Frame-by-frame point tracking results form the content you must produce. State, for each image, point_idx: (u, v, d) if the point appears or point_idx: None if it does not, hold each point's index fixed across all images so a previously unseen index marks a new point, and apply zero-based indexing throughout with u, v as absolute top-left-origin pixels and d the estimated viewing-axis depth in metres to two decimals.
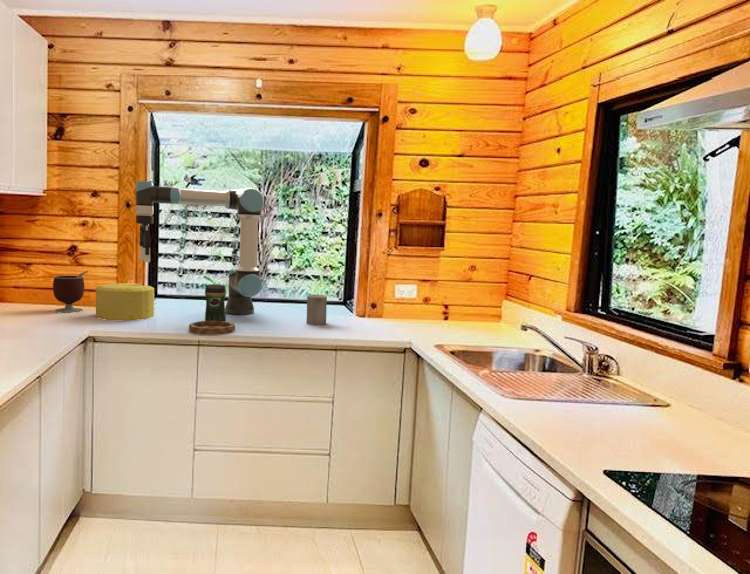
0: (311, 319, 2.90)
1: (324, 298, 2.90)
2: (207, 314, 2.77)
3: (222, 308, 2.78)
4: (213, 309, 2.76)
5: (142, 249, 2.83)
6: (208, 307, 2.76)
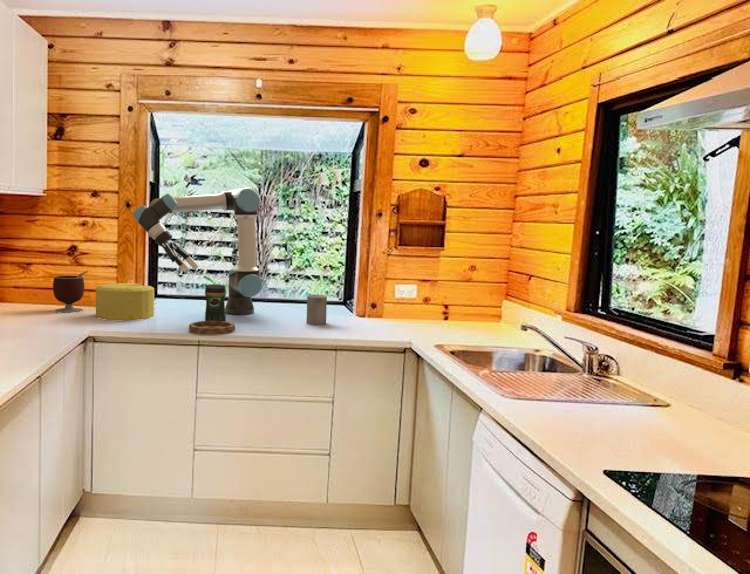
0: (311, 319, 2.90)
1: (324, 298, 2.90)
2: (207, 314, 2.77)
3: (222, 308, 2.78)
4: (213, 309, 2.76)
5: (188, 260, 2.84)
6: (208, 307, 2.76)
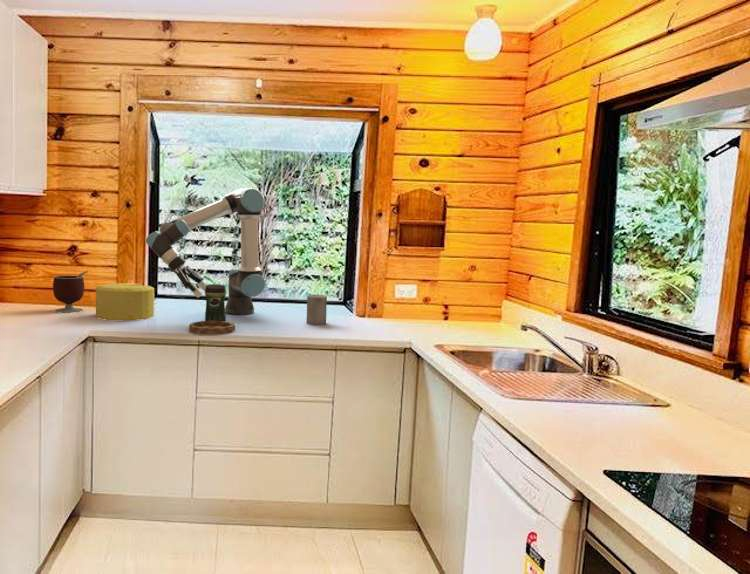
0: (311, 319, 2.90)
1: (324, 298, 2.90)
2: (207, 314, 2.77)
3: (222, 308, 2.78)
4: (213, 309, 2.76)
5: (201, 285, 2.85)
6: (208, 307, 2.76)
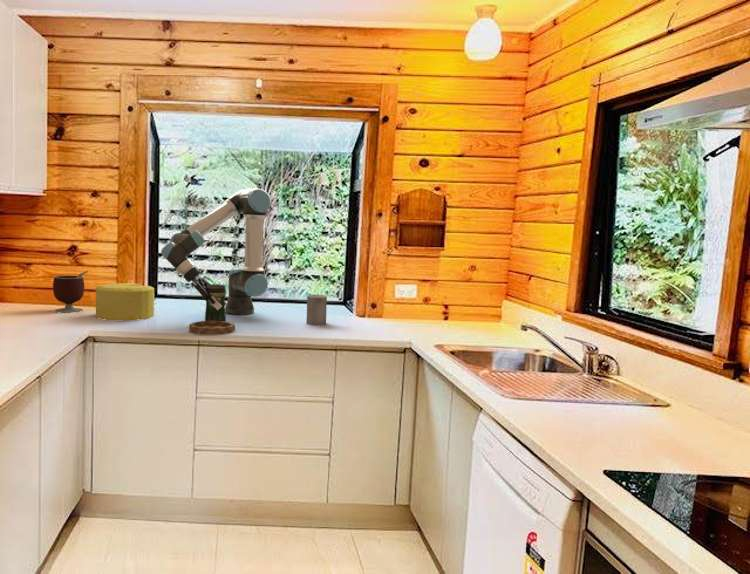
0: (311, 319, 2.90)
1: (324, 298, 2.90)
2: (207, 314, 2.77)
3: (222, 308, 2.78)
4: (213, 309, 2.76)
5: None
6: (208, 307, 2.76)
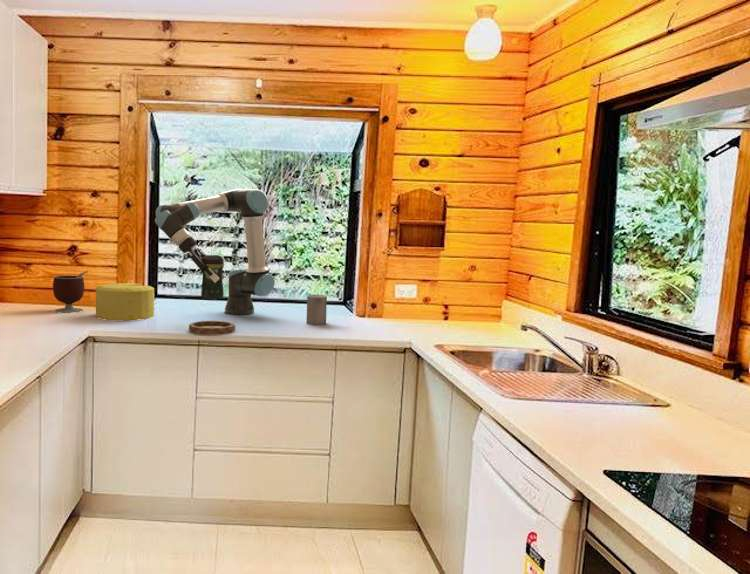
0: (311, 319, 2.90)
1: (324, 298, 2.90)
2: (203, 287, 2.59)
3: (220, 281, 2.60)
4: (210, 282, 2.59)
5: None
6: (205, 279, 2.59)
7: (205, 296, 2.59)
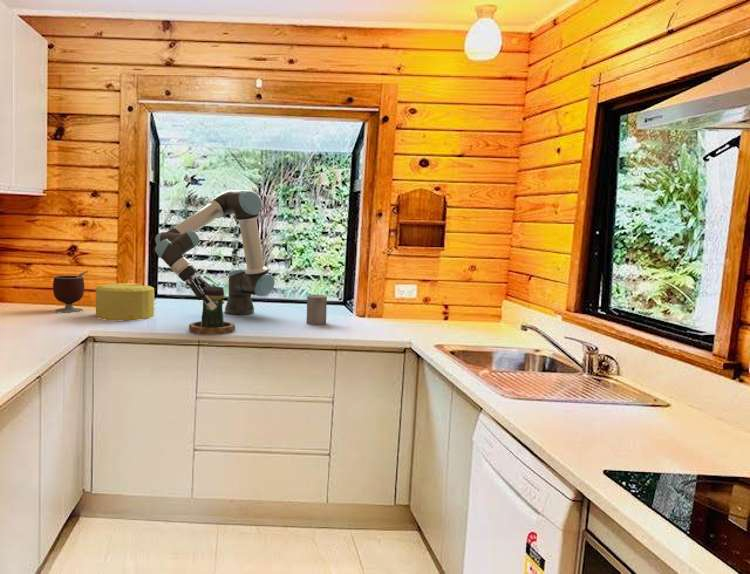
0: (311, 319, 2.90)
1: (324, 298, 2.90)
2: (204, 318, 2.61)
3: (220, 312, 2.62)
4: (210, 313, 2.60)
5: None
6: (205, 310, 2.60)
7: (205, 327, 2.61)
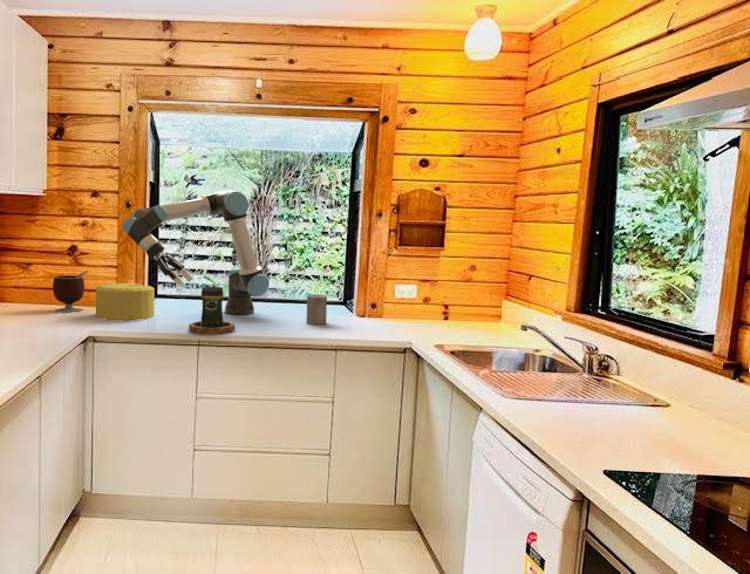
0: (311, 319, 2.90)
1: (324, 298, 2.90)
2: (203, 318, 2.61)
3: (219, 312, 2.62)
4: (209, 313, 2.60)
5: (182, 272, 2.71)
6: (204, 311, 2.60)
7: (205, 327, 2.61)
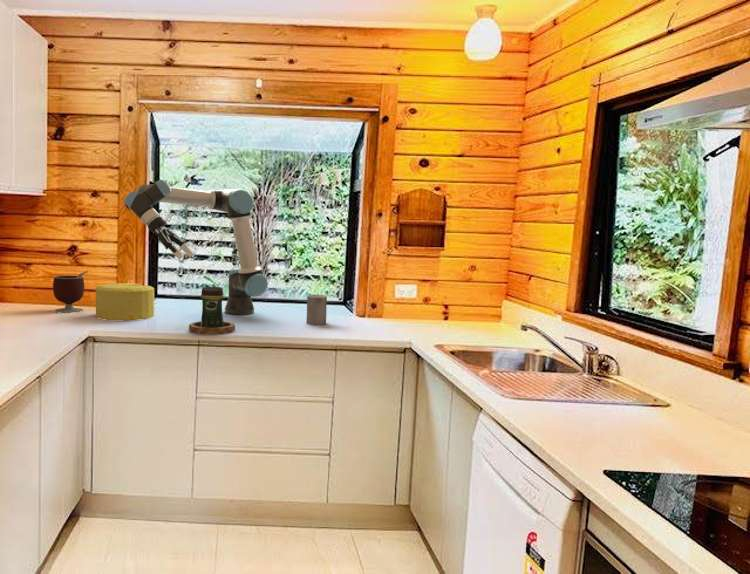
0: (311, 319, 2.90)
1: (324, 298, 2.90)
2: (203, 318, 2.61)
3: (219, 312, 2.62)
4: (209, 313, 2.60)
5: (183, 248, 2.73)
6: (204, 311, 2.60)
7: (205, 327, 2.61)
